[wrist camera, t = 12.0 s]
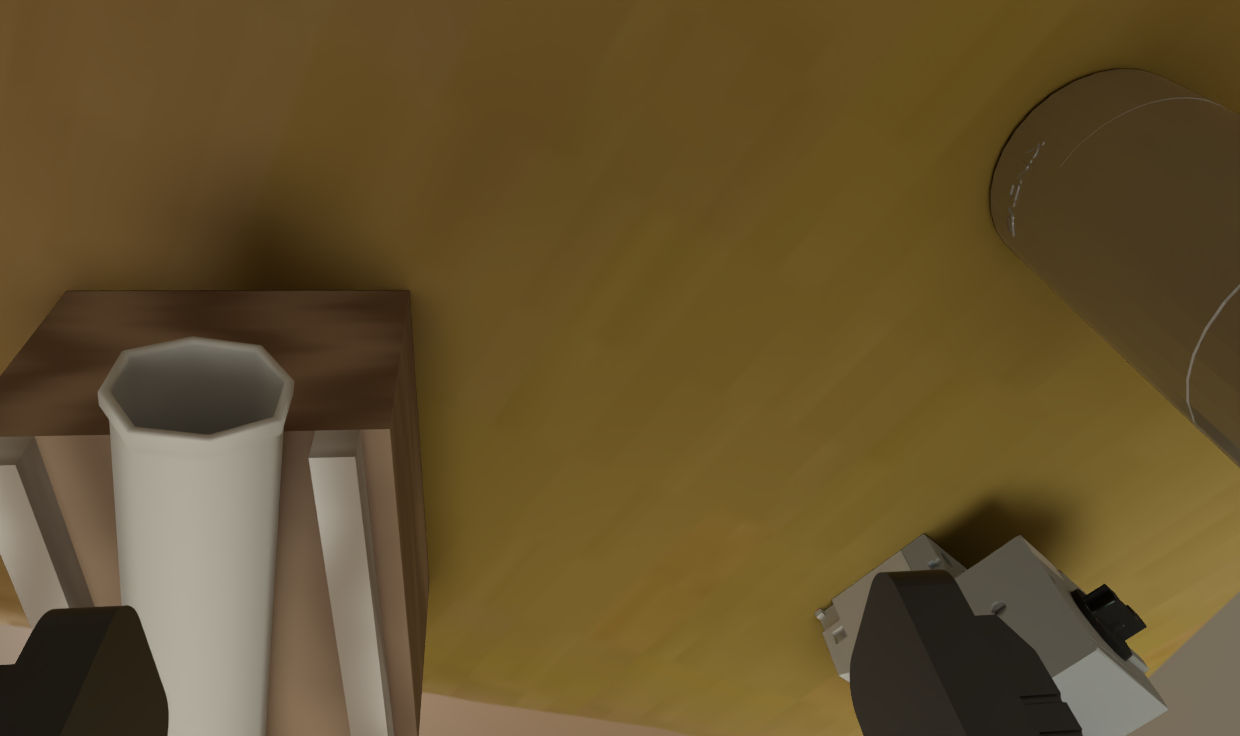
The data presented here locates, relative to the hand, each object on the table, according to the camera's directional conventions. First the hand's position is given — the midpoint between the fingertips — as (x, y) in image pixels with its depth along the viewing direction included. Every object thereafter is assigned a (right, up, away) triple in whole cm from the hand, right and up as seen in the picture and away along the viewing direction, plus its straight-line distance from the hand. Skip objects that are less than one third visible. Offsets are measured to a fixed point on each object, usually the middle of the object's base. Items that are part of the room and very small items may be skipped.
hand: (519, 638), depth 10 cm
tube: (-14, -6, +26) cm, 30 cm away
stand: (-16, -1, +34) cm, 38 cm away
